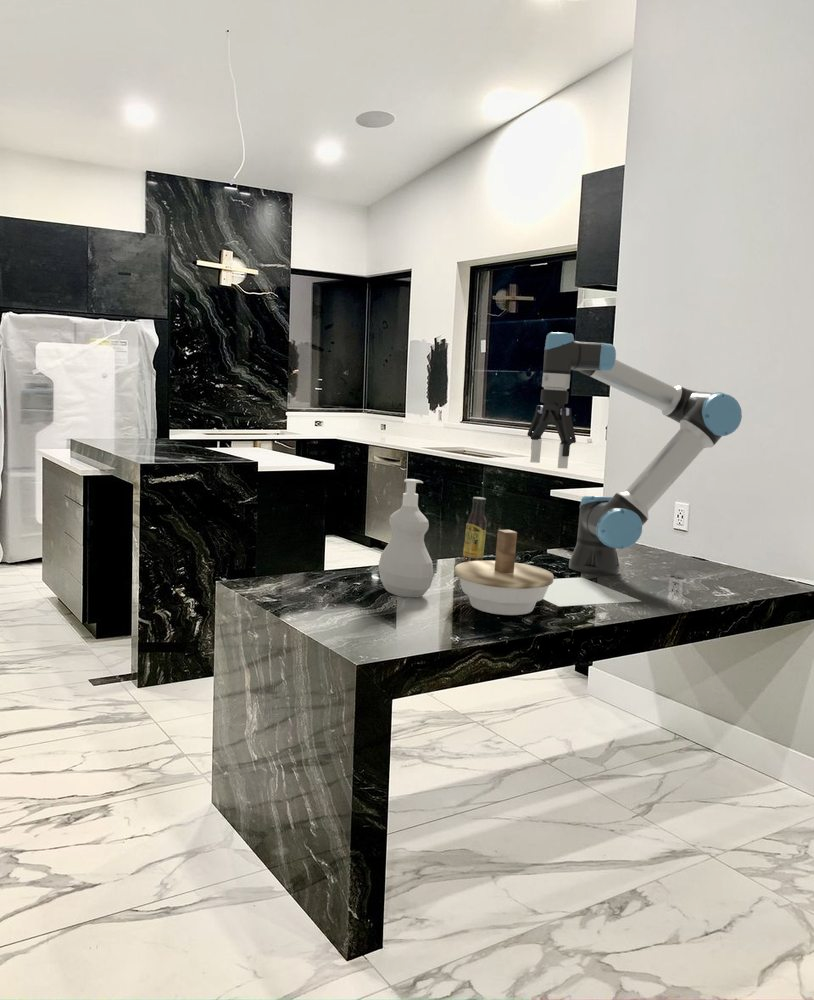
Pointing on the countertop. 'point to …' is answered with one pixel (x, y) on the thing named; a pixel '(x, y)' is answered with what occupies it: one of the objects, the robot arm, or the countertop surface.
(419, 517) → the soap bottle
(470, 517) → the sauce bottle
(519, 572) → the lid
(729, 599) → the countertop surface
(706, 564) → the countertop surface
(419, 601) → the countertop surface
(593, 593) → the mat
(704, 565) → the countertop surface
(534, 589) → the bowl
